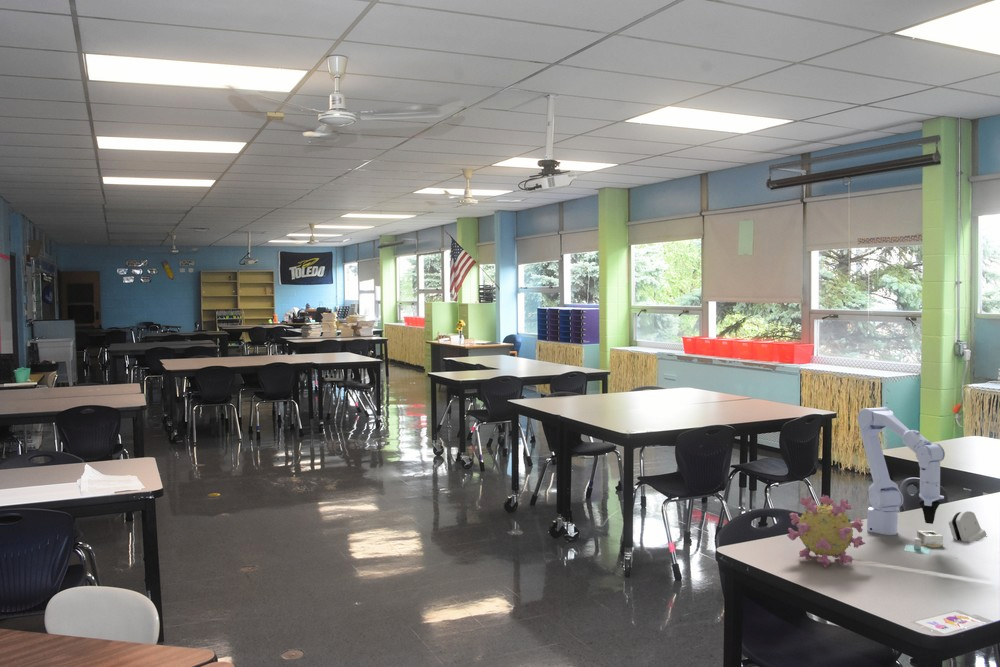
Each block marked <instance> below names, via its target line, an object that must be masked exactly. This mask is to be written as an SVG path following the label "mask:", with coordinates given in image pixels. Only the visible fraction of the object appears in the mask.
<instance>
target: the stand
mask: <svg viewBox="0 0 1000 667" xmlns="http://www.w3.org/2000/svg"><path fill="white" fill-rule="evenodd" d="M931 548H932V547H931ZM931 548H930V547H927V546H926V547H924V546H922V545H921V539H920V538H917V537H914V538H913V545H910V544H906V545H905V547H904V550H903V551H905V552H911V553H917V554H925V555H930V551H931Z"/></svg>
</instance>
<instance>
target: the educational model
mask: <svg viewBox="0 0 1000 667" xmlns="http://www.w3.org/2000/svg"><path fill="white" fill-rule="evenodd" d="M818 500H819V503H822V504H817V503H816V500H813V497H812V496H811V495H809V496H808V497H806V498H805V496H801V498H800V501H799V504H801V505H802V506H804V512H802V513H801V514H802V515H800V516H799V514H798V513H794V512H791V513H789V516H790V520H791V521H790V523H791V525H792V526H796V529H797V530H798V531H795V530H794V529H793V528H791V527H788V529H787V530H788V532H789V533H788V534H787V536H786V537H788V539H790V540H791V541H795V540H796V539H797V538H798V537H799V539H800V540H801V542H802V544H803V545H804V546H805V548H804V549H802V550H799V556H798V558H805V559H806V560H807V561H810V560H812V557H811V555H810V553H811V552H812V553H814V555H815V556H820V557H817V558H816V560H817V561H816V562H819V563H821V564H822V565H823V566H824V568H825V569H827V567H828V566H829V565H830V564H831V559H829V558H828V557H832V558H835V559H838V564H839V565H842V566H843V565H844V564H846V563H850V564H853V563H852V562H853V559H854V558H853V557H852V556H851V555H846V554H847V551H846V550H847V549H848V548H849V547H851V546H852V545H851V544H853V548H856V549H858V548H859V547H860V546H864V545H865V544H866V542H865V541H863V537H862V536H859V535H858V536H857V537H853V535H854V534H853V532H854V529H855V530H856V531H857V532H858V533H859V534H860V533H862V532H863V530H864V529H863V528H862V527H863V526H864V524H863V523H864V520H861V519H860V518H857V517H856V518H855V520H854V522H851V521H852V519H850V518H849V517H848V515H847V514H846V510H849V511H850V510H852V505H851V504H850V503H849V499H846V500H844V499H841V500H839V501H840V502H839V503H840V505H838V504H837V503H836V502H835V500H834V499H832V498H830V496H829V495H825V494H822V496H820V497H819V498H818Z"/></svg>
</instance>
